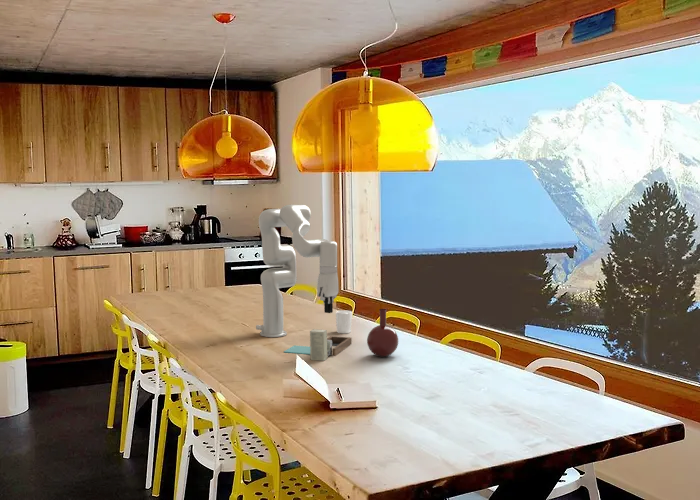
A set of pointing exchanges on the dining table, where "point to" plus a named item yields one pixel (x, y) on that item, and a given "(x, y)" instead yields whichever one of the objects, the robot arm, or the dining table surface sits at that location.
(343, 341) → the brown rectangular frame
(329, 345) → the brushed steel block
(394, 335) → the round-bottom flask
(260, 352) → the dining table surface
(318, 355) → the skincare box
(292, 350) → the coaster
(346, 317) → the white cup
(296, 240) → the robot arm
